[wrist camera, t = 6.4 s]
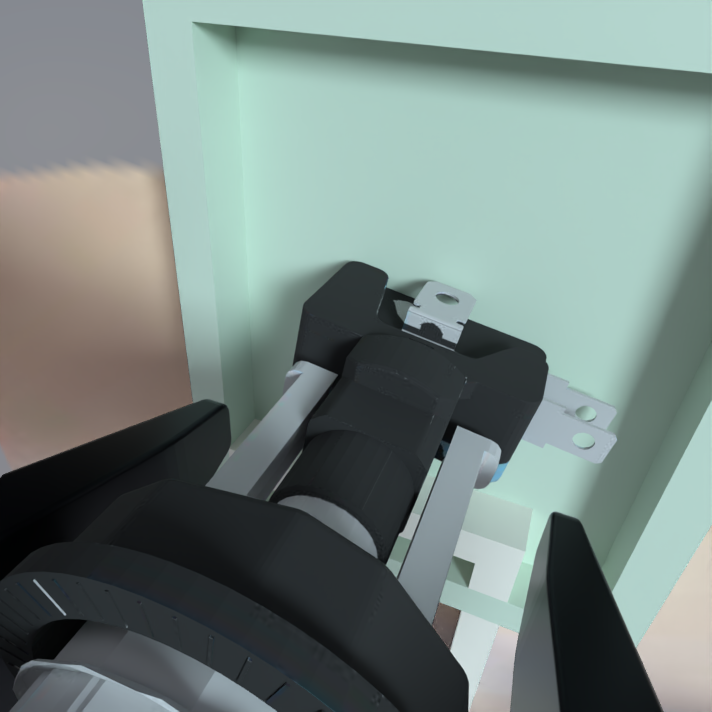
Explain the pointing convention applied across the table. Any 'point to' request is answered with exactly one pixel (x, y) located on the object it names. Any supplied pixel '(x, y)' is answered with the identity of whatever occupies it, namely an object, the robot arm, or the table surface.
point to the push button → (300, 528)
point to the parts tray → (466, 225)
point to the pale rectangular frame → (480, 546)
